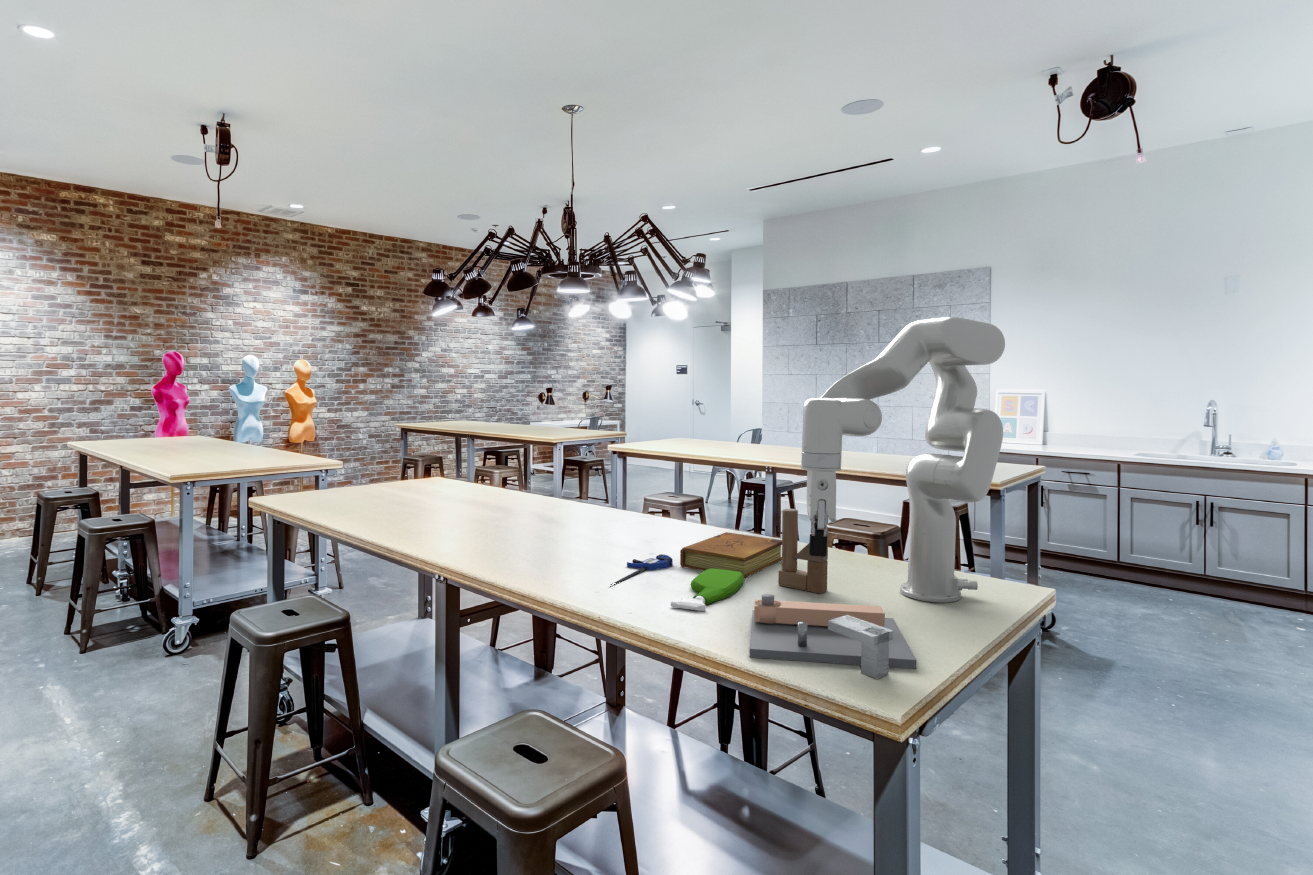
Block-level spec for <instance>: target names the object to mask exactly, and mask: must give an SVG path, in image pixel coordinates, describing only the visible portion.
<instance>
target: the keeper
mask: <svg viewBox="0 0 1313 875" xmlns="http://www.w3.org/2000/svg"><path fill="white" fill-rule="evenodd" d="M828 630H831V631H833V632H836V633H839V634H841V635H844V636H847V637H849V638H852V639H855V640H857V641H860V642H862V645H861V665H860V673H862V674H863V675H865V676H869V677H871V678H873V679H875V680H878V679H880V678H883V677H885V676H888V675H889V668H890V667H889V641H890V640H893V630H890V629H887V628H885V627H882V626H879V625H876V624H873V623H870V622H867V621H864V620H861V619H858V618H855V617H852V616H849V615H845V616H842V617H838V618H835V619H832V620H829V621H828ZM798 646H800V647H807V622H805V621H799V622H798Z"/></svg>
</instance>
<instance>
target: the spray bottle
mask: <svg viewBox="0 0 1313 875" xmlns="http://www.w3.org/2000/svg"><path fill="white" fill-rule="evenodd" d="M744 582H745V579H744V576H743V575H742V573H741V572H737V571H729V570H722V569H713V568H710V569H708V570H705V571H701V573H699V574H697V575H696V576H695V577H694V578H693V579H692V580H691V581H690V584H689V585H690V588H691V590H692V591H693V592H695V593H696V594H694V595H693V596H692V598H689V599H686V598H685V597H683V596H681V600H677V601H671V602H670V606H671V607H674V608H676V609H677V608H678V609H683V610H689V609H690V610H691V611H700V612H706V605H709V604H712V603H716V602H719V601H721V600H724V599H727V598H729V597H731V596H732V595H734V594H736V593H737V592H738V591H739V590H740V589H741V587H743V585H744Z"/></svg>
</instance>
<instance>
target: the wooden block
mask: <svg viewBox="0 0 1313 875" xmlns="http://www.w3.org/2000/svg"><path fill="white" fill-rule="evenodd" d="M781 512H782V513H781V515H782V517H781V518H782V520H781V525H782V526H781V528H782V529H781V532H782V533H781V540H782V545H781V557H782V560H781V569H779V570H778V580H777V582H778V583H777V585H778V586H781V587H786V588H789V589H796V590H801V591H804V592H805V591H807V592H809V593H814V594H820V595H821V594H824V593H825V592H826V591H828V565H829V564H828V563H829V562H828V558H829V529H827V555H826V556H825V557H821V556H811V555H810V553H809V543H807V544H806V545H805V546H804V547H803V548H802V549H801V550H799V551H798V545H799V544H798V538H799V537H798V536H799V534H798V533H799V531H798V530H799V510H798V509H796V508H783V509H782V511H781ZM798 560H803V561H807V564H806V566H807V567H806V569H807V570H806V571H805V570H800V569H798Z"/></svg>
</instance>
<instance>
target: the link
mask: <svg viewBox="0 0 1313 875" xmlns="http://www.w3.org/2000/svg"><path fill="white" fill-rule="evenodd" d="M753 606H754V607H753V608H754V609H753V610H754V622H761V623H769V624H770V623H784V624H798V622H799V621H805V622H807V625H817V626H828V621H829V620H832V619H835V618H838V617H842V616H845V615H849V616H852V617H855V618H858V619H861V620H864V621H867V622H870V623H873V624H876V625H879V626H882V627H885V618H886V616H885V615H886V612H885V610H884V609H883V607H882V606H881V605H867V604H866V605H864V604H863V605H861V604H847V603H846V604H845V603H842V604H841V603H829V602H827V603H825V602H810V601H809V602H808V601H791V600H790V601H789V600H775V595H774V594H771V593H762V594H761V599H754V605H753Z"/></svg>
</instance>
